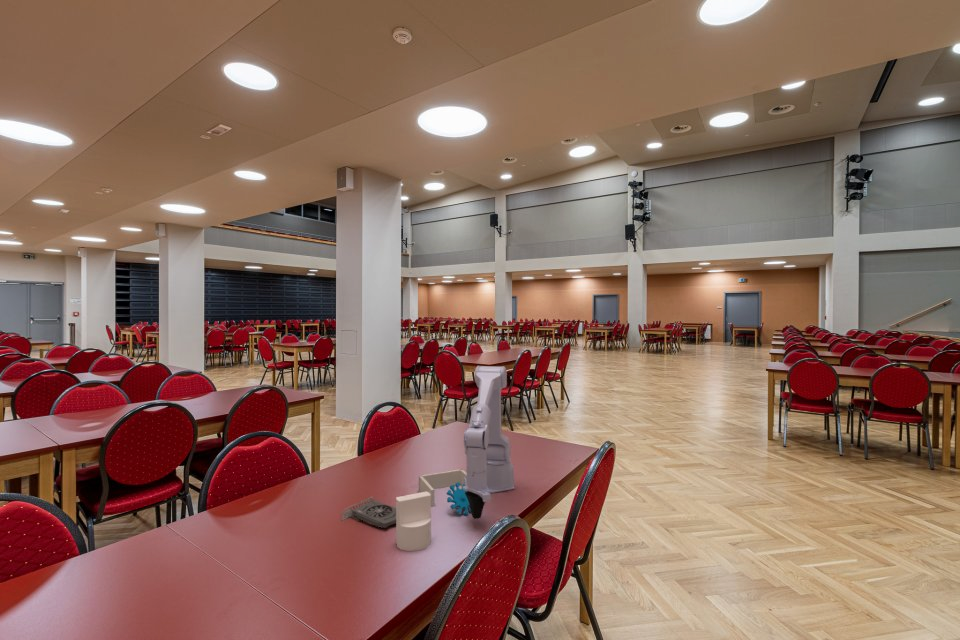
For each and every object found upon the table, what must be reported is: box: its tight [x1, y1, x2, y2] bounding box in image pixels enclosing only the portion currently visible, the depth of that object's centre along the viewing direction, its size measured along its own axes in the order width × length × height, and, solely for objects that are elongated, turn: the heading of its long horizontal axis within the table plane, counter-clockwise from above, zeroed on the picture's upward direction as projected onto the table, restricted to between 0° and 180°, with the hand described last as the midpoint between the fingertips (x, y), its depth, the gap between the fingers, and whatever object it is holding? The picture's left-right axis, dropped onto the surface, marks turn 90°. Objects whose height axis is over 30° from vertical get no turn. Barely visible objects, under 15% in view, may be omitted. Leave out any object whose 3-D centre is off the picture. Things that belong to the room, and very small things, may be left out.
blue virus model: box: [446, 483, 472, 516], centre depth 134 cm, size 11×6×10 cm
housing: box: [418, 468, 467, 507], centre depth 146 cm, size 16×14×5 cm
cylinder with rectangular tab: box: [395, 491, 432, 552], centre depth 114 cm, size 9×9×12 cm
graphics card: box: [341, 496, 396, 529], centre depth 127 cm, size 17×4×12 cm
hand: (476, 517), depth 124 cm, fingers closed
